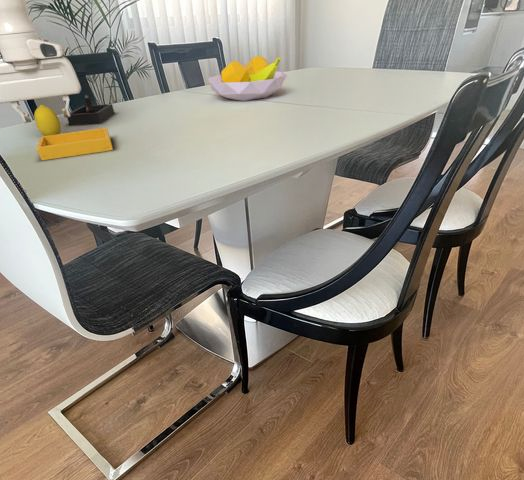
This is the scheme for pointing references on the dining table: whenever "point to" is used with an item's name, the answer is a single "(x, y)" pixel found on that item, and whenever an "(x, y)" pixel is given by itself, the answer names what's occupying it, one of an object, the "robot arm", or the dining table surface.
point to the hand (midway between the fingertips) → (48, 119)
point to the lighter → (88, 105)
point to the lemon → (47, 121)
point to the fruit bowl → (248, 80)
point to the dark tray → (91, 115)
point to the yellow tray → (74, 144)
